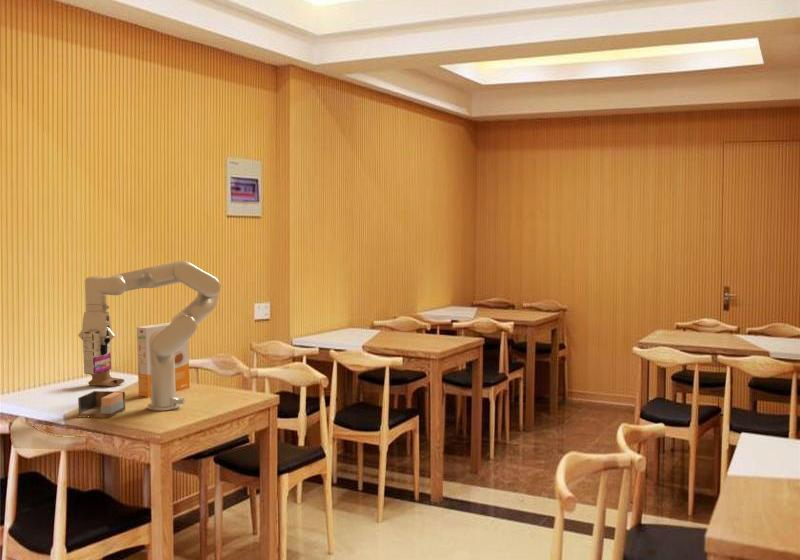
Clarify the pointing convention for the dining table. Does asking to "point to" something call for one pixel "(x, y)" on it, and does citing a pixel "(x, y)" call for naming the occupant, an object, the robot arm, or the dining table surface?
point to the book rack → (101, 404)
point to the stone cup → (105, 379)
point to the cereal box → (144, 361)
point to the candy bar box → (95, 354)
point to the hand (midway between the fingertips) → (97, 353)
